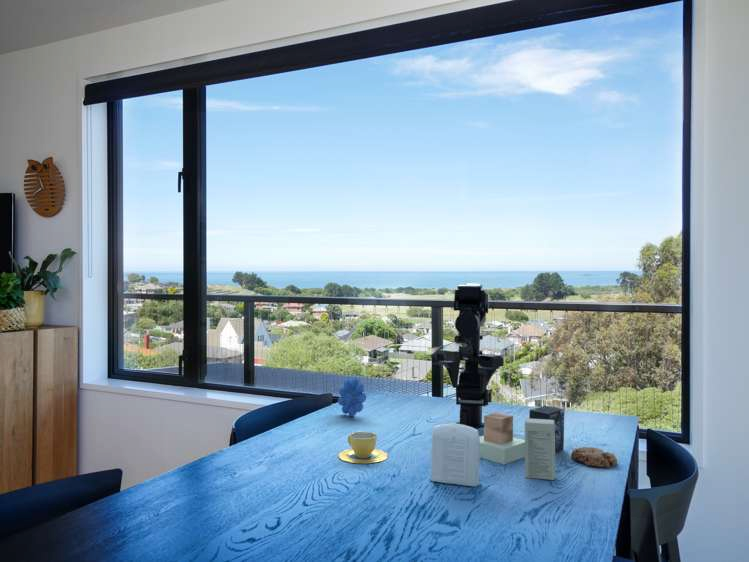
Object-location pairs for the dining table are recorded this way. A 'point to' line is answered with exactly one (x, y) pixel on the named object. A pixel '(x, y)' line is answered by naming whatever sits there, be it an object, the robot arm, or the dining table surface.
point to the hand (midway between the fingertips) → (468, 390)
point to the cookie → (594, 457)
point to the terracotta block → (498, 428)
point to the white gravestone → (455, 454)
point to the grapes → (352, 396)
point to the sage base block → (502, 450)
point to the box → (552, 414)
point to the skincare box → (540, 448)
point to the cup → (362, 448)
